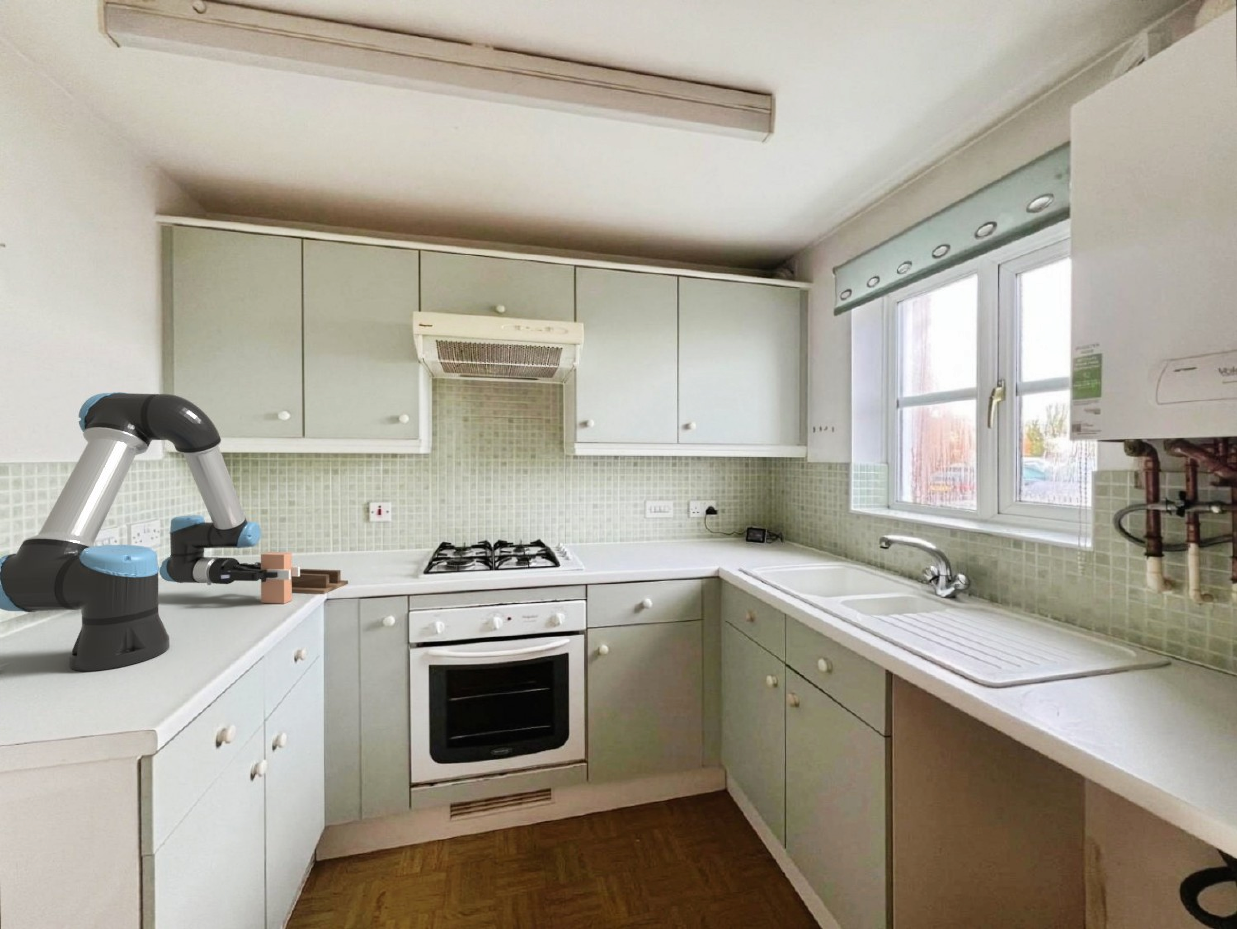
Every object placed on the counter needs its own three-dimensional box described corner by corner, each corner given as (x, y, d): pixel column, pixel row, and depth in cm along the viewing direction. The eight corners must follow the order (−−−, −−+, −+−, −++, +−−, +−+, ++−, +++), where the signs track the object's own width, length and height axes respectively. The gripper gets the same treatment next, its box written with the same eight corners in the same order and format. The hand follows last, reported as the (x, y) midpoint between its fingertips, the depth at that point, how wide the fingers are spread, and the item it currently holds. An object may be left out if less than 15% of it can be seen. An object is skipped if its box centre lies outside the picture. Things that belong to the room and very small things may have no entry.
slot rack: (323, 594, 154) (323, 577, 153) (274, 592, 155) (274, 576, 155) (348, 583, 166) (348, 568, 165) (302, 581, 167) (302, 567, 167)
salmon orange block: (284, 603, 143) (283, 554, 143) (261, 602, 144) (260, 554, 144) (291, 600, 146) (291, 552, 146) (269, 599, 147) (268, 552, 147)
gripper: (241, 576, 154) (313, 579, 153) (193, 590, 138) (273, 594, 137) (241, 552, 154) (313, 554, 152) (192, 563, 138) (273, 566, 136)
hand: (294, 573), depth 145 cm, fingers closed on salmon orange block, 3 cm apart
